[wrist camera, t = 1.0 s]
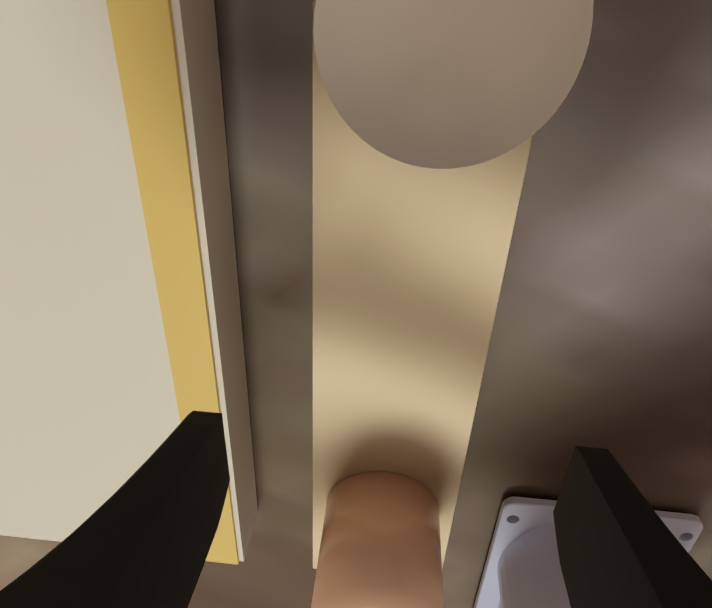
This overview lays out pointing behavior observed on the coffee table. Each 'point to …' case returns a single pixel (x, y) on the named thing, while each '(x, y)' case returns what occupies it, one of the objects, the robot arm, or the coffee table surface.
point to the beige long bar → (401, 307)
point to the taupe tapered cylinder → (449, 72)
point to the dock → (114, 258)
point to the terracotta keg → (380, 545)
